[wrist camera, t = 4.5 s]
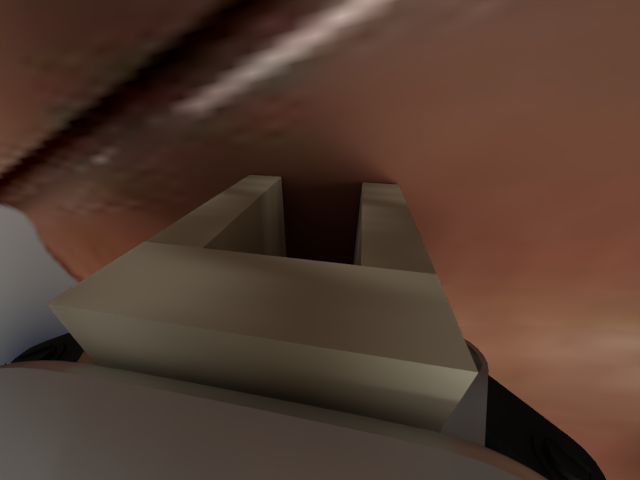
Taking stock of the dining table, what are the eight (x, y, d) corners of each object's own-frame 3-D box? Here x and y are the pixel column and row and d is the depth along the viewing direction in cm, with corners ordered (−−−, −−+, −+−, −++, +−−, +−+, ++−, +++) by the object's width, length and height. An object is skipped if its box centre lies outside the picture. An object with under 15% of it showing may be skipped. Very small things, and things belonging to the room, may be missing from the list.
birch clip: (264, 289, 14) (174, 461, 7) (249, 174, 11) (46, 303, 4) (374, 304, 13) (386, 513, 7) (398, 184, 10) (478, 372, 3)
